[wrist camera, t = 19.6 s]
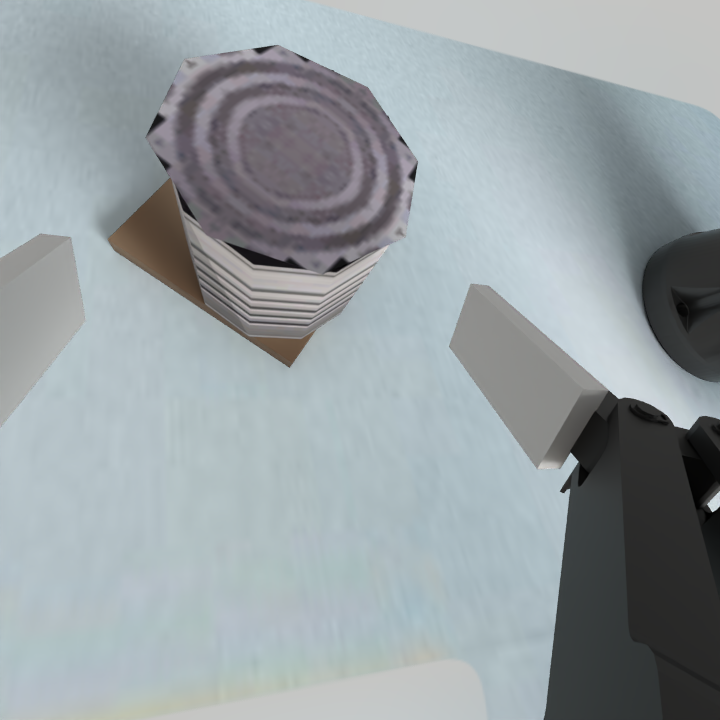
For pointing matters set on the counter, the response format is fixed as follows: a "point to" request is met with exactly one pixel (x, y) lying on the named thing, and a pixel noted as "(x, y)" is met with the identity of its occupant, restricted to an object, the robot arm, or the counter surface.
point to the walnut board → (180, 261)
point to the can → (281, 185)
